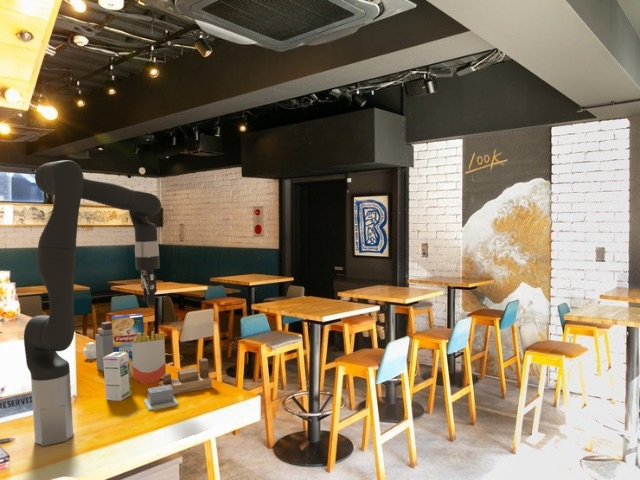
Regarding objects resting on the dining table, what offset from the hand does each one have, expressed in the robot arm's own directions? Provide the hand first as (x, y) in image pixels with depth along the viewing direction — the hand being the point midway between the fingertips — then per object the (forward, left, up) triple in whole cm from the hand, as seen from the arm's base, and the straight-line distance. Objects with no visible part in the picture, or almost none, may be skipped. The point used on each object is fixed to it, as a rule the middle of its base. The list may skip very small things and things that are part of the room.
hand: (149, 303), depth 169 cm
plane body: (-3, -10, -30) cm, 32 cm away
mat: (-12, 0, -30) cm, 32 cm away
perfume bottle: (+38, +10, -30) cm, 50 cm away
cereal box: (+25, +4, -30) cm, 39 cm away
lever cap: (-12, 0, -30) cm, 32 cm away
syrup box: (+1, +11, -30) cm, 32 cm away
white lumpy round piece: (+57, +15, -30) cm, 66 cm away
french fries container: (+13, -1, -30) cm, 33 cm away
